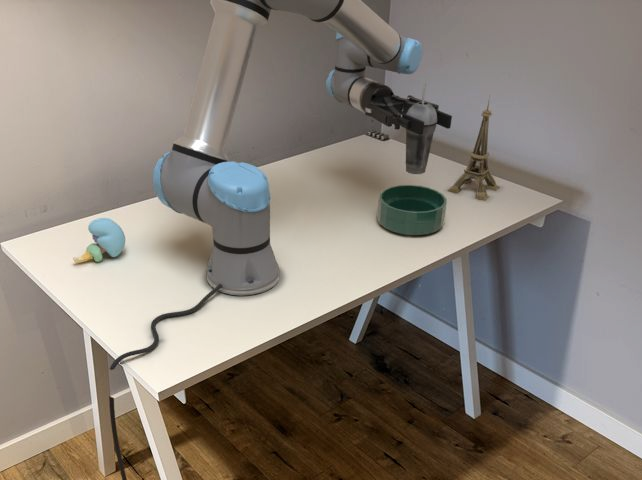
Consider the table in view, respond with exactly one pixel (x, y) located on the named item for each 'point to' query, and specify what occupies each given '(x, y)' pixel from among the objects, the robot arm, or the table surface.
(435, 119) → the beverage cup
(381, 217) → the green pet bowl
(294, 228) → the table surface
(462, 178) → the eiffel tower
